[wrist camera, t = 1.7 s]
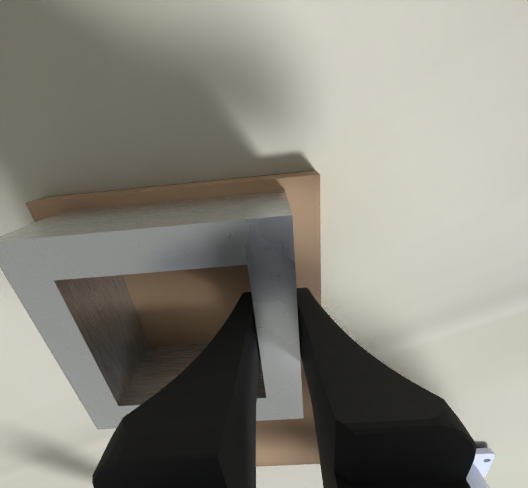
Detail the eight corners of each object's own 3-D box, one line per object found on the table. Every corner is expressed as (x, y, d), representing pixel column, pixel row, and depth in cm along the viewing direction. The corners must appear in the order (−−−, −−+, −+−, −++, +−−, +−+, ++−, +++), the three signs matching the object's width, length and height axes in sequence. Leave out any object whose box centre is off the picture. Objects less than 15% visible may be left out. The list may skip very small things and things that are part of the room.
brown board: (319, 448, 21) (338, 563, 15) (162, 456, 21) (127, 568, 16) (315, 170, 12) (358, 209, 6) (43, 197, 12) (-134, 253, 7)
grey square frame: (295, 357, 15) (303, 418, 12) (131, 367, 16) (97, 429, 13) (284, 189, 11) (292, 215, 8) (62, 210, 12) (-15, 243, 8)
